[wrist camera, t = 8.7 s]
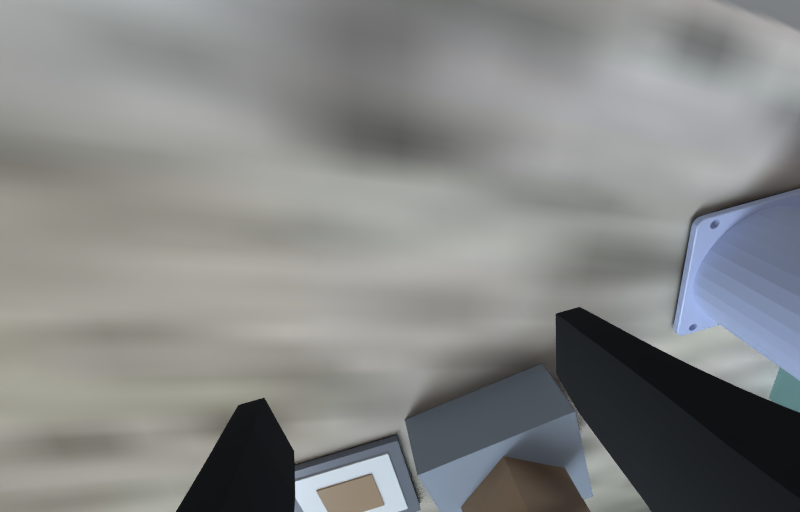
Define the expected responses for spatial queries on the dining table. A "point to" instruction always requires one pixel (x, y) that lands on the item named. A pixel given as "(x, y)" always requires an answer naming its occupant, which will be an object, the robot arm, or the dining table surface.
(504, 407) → the slate base block
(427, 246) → the dining table surface
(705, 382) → the robot arm
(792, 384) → the green block
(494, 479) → the walnut block
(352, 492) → the card
